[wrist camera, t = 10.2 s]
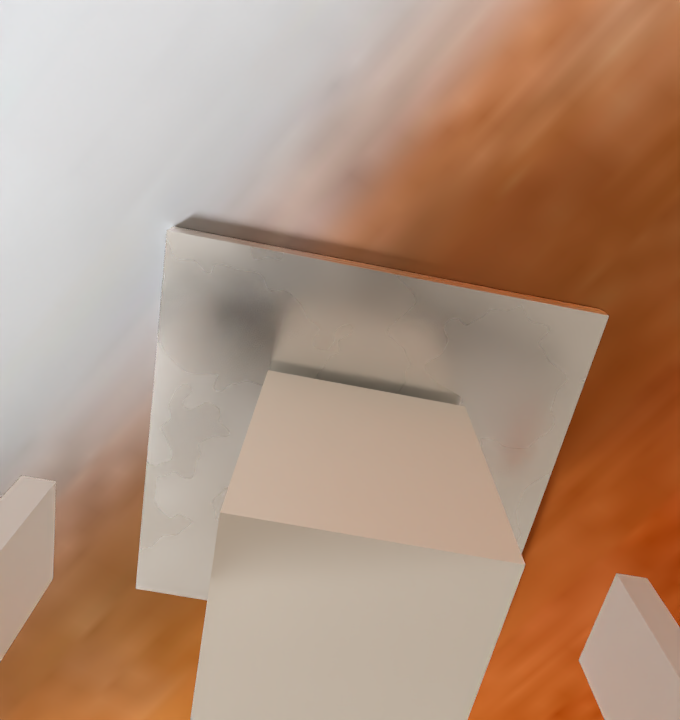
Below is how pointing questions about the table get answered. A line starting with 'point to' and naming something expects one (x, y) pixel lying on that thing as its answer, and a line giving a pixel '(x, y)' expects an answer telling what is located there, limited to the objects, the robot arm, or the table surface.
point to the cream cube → (354, 561)
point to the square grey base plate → (340, 374)
